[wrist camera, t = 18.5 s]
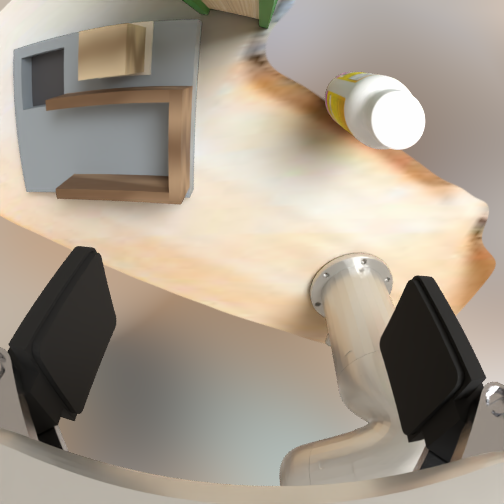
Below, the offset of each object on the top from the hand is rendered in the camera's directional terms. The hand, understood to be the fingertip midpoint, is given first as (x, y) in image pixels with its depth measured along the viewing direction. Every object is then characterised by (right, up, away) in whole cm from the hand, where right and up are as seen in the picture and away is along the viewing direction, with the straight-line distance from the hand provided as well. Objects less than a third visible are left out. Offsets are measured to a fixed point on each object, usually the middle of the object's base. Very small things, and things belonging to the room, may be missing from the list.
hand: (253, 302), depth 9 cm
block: (-13, +22, +16) cm, 30 cm away
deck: (-18, +18, +22) cm, 34 cm away
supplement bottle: (+11, +18, +22) cm, 30 cm away
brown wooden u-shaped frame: (-14, +14, +22) cm, 30 cm away
